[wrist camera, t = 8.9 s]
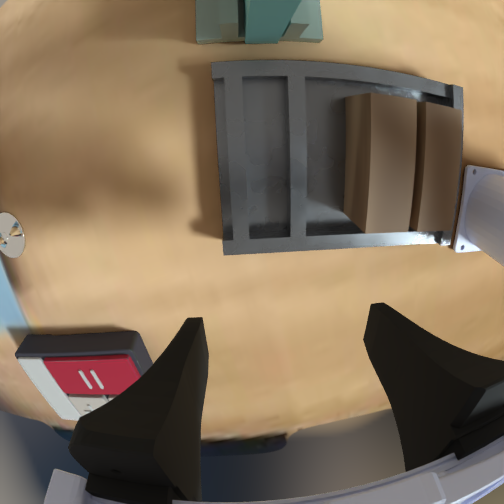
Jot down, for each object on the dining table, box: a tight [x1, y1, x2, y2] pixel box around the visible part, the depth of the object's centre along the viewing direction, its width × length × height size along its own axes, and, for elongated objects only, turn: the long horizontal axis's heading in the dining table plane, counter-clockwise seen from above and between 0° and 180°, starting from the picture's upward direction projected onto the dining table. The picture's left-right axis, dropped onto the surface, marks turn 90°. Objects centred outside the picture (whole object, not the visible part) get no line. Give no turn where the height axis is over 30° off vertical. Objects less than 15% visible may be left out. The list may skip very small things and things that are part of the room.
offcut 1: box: [343, 93, 417, 234], centre depth 17 cm, size 3×8×4 cm, turn 2°
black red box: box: [15, 331, 153, 421], centre depth 26 cm, size 11×4×15 cm
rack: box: [211, 60, 463, 255], centre depth 18 cm, size 17×12×3 cm
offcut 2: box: [409, 102, 462, 232], centre depth 17 cm, size 3×8×4 cm, turn 2°
